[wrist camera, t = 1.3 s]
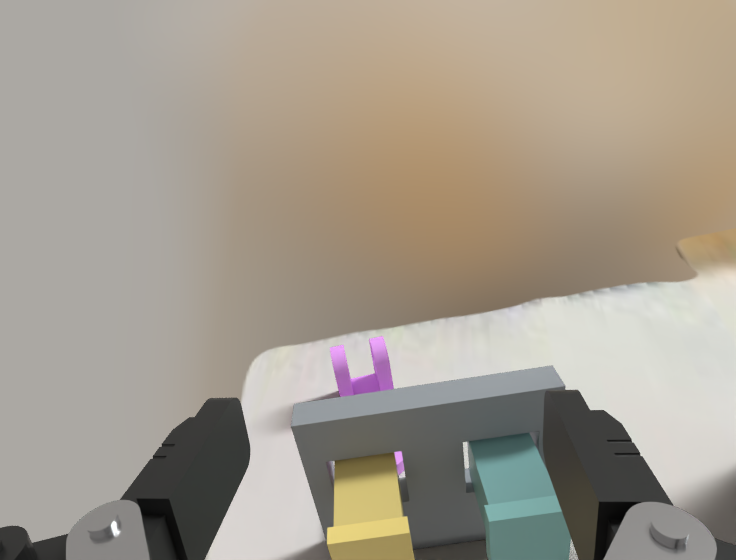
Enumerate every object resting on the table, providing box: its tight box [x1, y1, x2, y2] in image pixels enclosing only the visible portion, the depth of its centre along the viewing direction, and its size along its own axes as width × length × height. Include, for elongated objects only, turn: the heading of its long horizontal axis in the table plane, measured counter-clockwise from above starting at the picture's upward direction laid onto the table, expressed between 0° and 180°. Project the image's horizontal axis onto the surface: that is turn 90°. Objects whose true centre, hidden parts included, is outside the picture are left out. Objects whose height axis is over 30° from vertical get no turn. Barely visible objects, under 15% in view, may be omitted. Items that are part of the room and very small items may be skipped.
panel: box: [291, 366, 565, 549], centre depth 34 cm, size 17×5×14 cm, turn 93°
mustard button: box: [327, 452, 415, 560], centre depth 30 cm, size 5×6×5 cm
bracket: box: [330, 336, 404, 475], centre depth 46 cm, size 13×6×7 cm, turn 10°
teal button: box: [467, 433, 571, 560], centre depth 30 cm, size 5×6×5 cm
